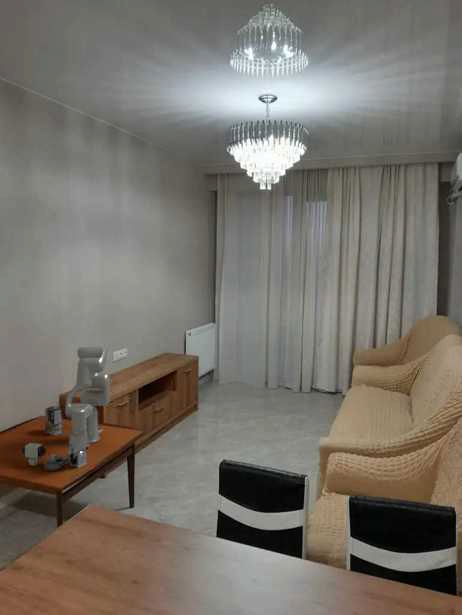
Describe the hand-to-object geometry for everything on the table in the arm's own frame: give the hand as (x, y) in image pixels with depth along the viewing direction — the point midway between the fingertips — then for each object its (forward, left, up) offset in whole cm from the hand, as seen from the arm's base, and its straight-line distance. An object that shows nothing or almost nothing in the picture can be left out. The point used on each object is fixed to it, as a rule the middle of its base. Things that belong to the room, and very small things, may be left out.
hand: (78, 461), depth 256 cm
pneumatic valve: (+13, -20, -2) cm, 24 cm away
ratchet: (+3, -8, -2) cm, 9 cm away
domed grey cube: (0, 0, -2) cm, 2 cm away
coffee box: (-23, -46, -2) cm, 51 cm away
